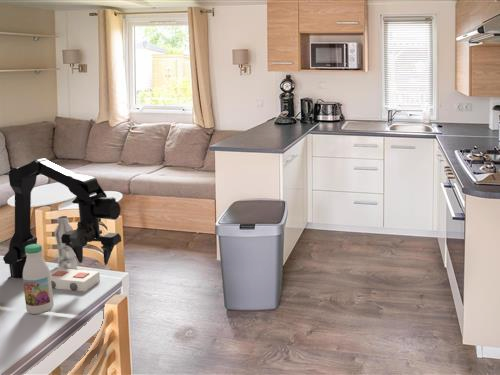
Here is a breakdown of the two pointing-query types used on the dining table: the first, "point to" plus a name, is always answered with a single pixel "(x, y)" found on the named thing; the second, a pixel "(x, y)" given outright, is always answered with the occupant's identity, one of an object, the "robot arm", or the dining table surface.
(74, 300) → the dining table surface
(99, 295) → the dining table surface
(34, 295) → the milk bottle
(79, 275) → the outer button
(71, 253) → the plastic bottle
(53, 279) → the switch panel
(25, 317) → the dining table surface
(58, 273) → the inner button
